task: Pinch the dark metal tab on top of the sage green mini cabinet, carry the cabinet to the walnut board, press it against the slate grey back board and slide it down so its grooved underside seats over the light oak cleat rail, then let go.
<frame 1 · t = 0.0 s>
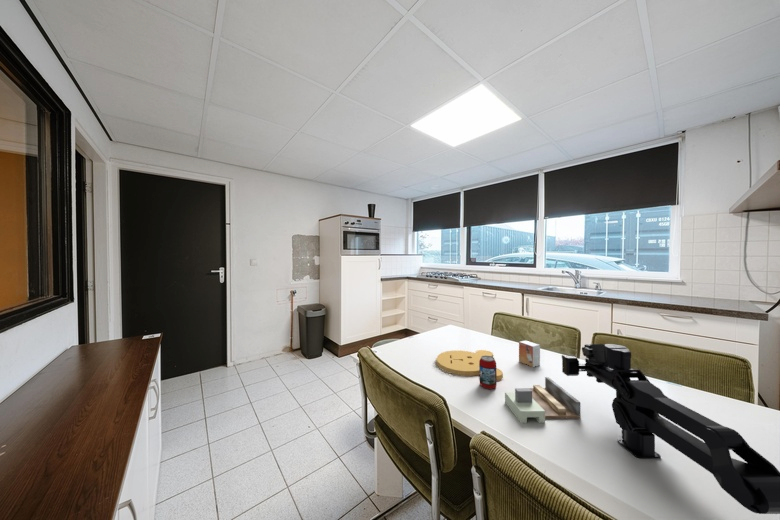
hand: (574, 356, 97), 17 cm above the table, tool horizontal, fingers open, 9 cm apart
beverage can: (488, 386, 109), on the table
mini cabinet: (523, 412, 91), on the table
decorative plaque: (466, 365, 131), on the table
cleat board: (546, 403, 95), on the table
small box: (529, 364, 130), on the table
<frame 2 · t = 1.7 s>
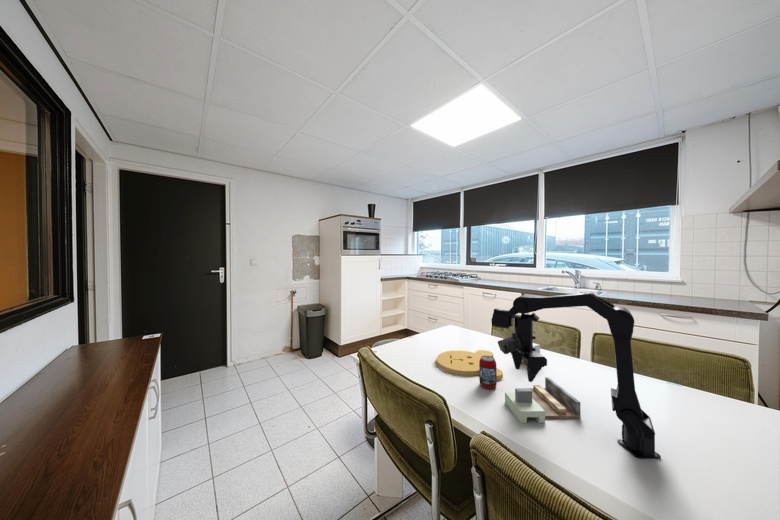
hand: (523, 375, 91), 13 cm above the table, tool pointing down, fingers open, 9 cm apart
nothing on the table moved.
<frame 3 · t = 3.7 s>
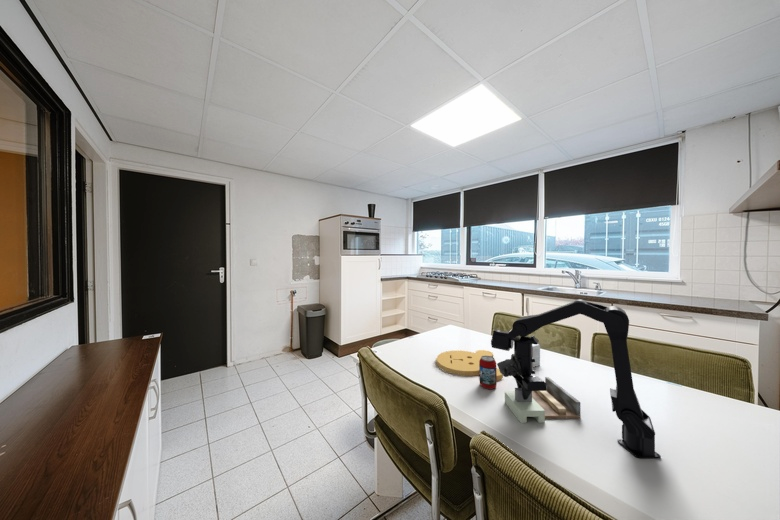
hand: (523, 397, 91), 5 cm above the table, tool pointing down, fingers closed on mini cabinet
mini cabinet: (523, 411, 91), on the table, touching gripper
everything else where it was.
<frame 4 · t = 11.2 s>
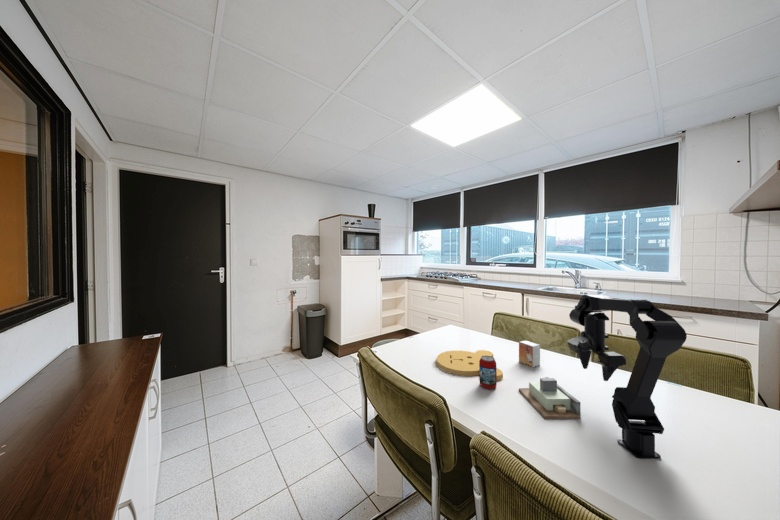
hand: (594, 374, 90), 13 cm above the table, tool pointing down, fingers open, 9 cm apart
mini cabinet: (548, 400, 95), point 1 cm above the table, touching cleat board
everything else where it was.
at the end: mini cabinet inside the target area on the cleat board (0.1 cm from its centre), point 1.0 cm above the cleat board's base; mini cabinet tilted 0°; the gripper is holding nothing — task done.
